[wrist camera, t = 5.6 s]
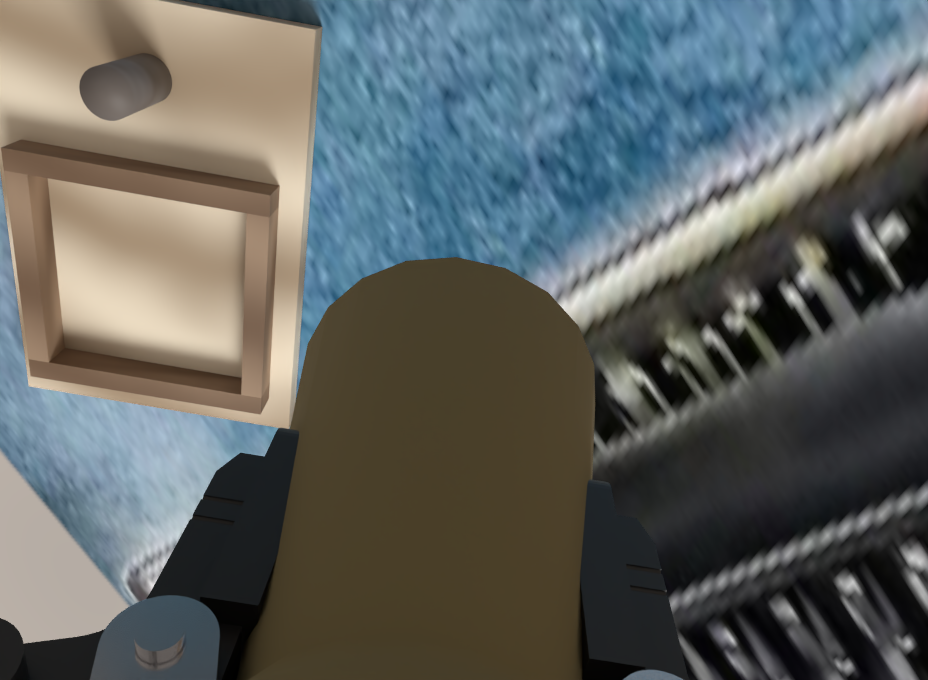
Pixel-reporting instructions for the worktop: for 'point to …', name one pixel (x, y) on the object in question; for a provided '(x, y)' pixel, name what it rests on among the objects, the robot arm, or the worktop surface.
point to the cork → (434, 486)
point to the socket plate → (159, 200)
